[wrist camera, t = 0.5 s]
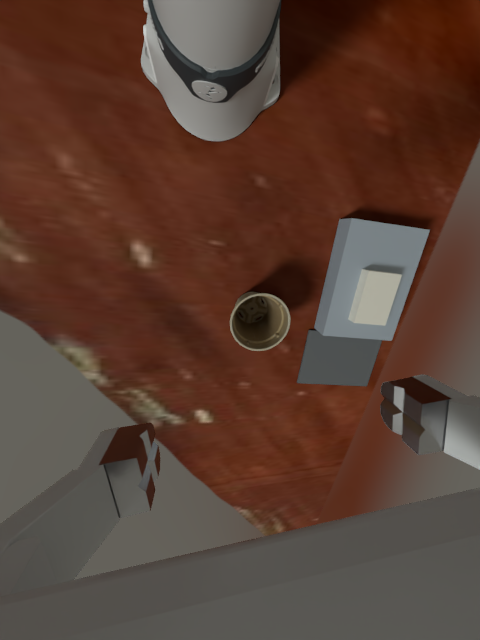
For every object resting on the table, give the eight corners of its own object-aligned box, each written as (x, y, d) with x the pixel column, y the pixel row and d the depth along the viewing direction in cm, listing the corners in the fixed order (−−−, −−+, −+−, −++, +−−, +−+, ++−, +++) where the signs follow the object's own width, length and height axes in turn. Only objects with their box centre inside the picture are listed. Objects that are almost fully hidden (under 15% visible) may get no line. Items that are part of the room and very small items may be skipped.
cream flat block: (361, 268, 42) (369, 270, 40) (393, 272, 43) (402, 274, 41) (348, 319, 45) (354, 323, 43) (378, 321, 46) (385, 325, 44)
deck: (339, 219, 43) (351, 218, 39) (411, 230, 45) (430, 229, 41) (314, 327, 49) (322, 335, 46) (378, 332, 51) (391, 340, 48)
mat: (308, 329, 49) (309, 330, 49) (382, 335, 52) (383, 336, 51) (297, 381, 53) (297, 383, 53) (365, 385, 56) (366, 386, 55)
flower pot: (245, 271, 44) (253, 281, 36) (286, 299, 47) (302, 314, 39) (216, 314, 46) (218, 332, 38) (257, 339, 49) (267, 360, 41)
